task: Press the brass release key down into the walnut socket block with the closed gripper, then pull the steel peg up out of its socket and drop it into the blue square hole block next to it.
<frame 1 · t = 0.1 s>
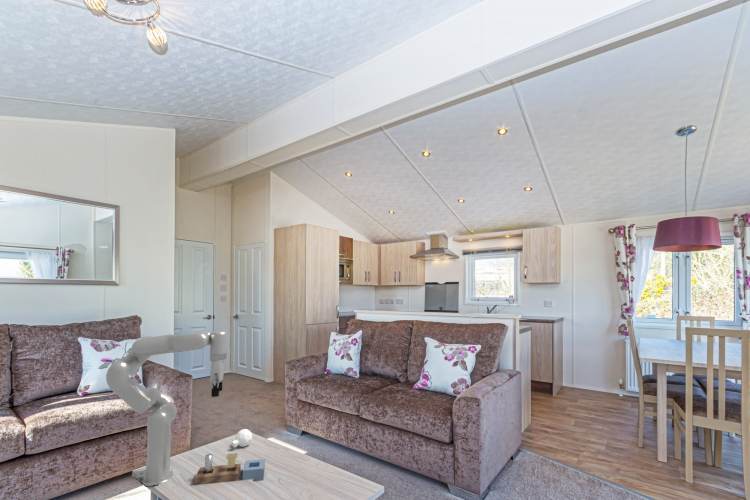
hand: (216, 393, 185), 37 cm above the table, fingers open, 9 cm apart
blue square hole block: (253, 475, 180), on the table
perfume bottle: (241, 447, 213), on the table
release key: (231, 460, 178), point 8 cm above the table, slide at 4.0 cm
socket block: (218, 479, 176), on the table
steel peg: (207, 478, 175), point 1 cm above the table, touching socket block
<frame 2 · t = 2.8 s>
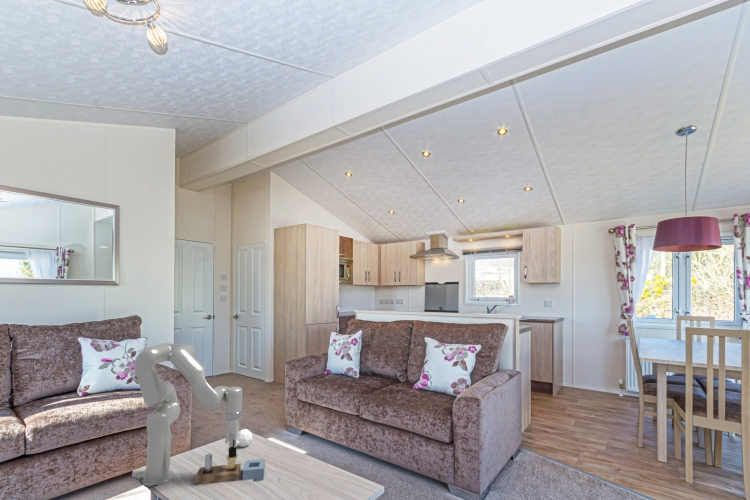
hand: (232, 456, 179), 10 cm above the table, fingers closed
release key: (231, 461, 178), point 7 cm above the table, slide at 3.6 cm, touching gripper
everything else where it was.
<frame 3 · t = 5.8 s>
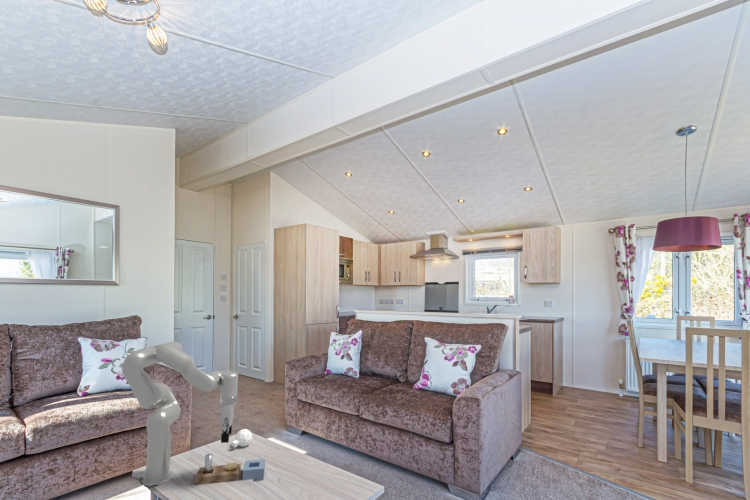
hand: (226, 438, 179), 18 cm above the table, fingers open, 9 cm apart
release key: (231, 470, 178), point 4 cm above the table, slide at -0.1 cm
everything else where it was.
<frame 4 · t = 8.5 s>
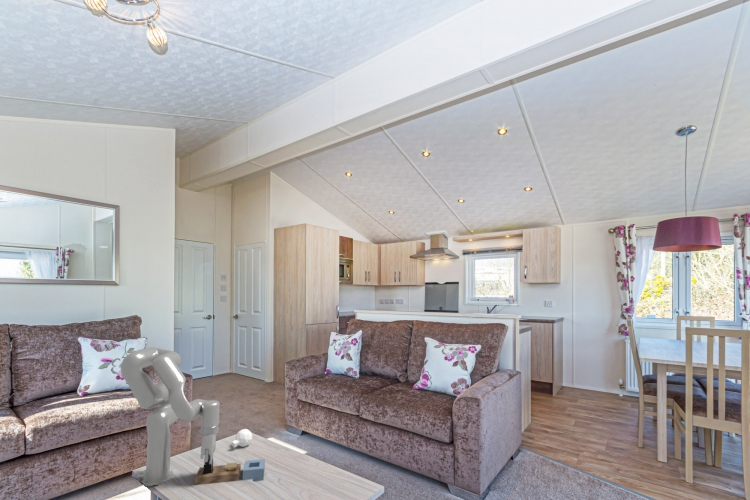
hand: (208, 470, 176), 4 cm above the table, fingers closed on steel peg, 3 cm apart
steel peg: (207, 478, 175), point 1 cm above the table, touching gripper, socket block
everything else where it was.
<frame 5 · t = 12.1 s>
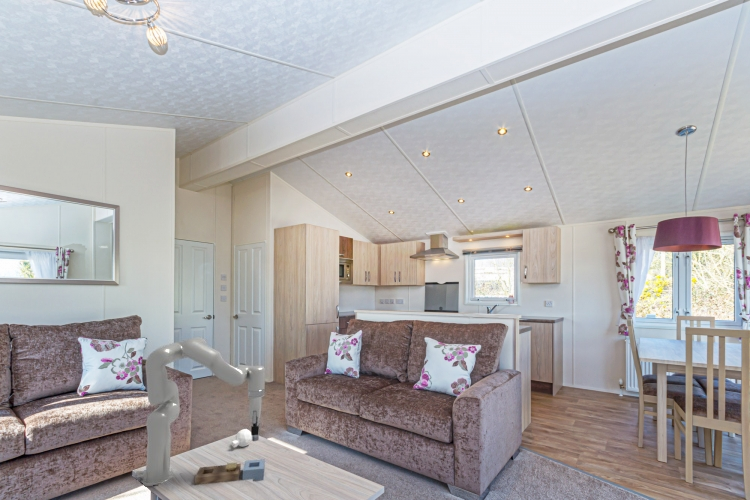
hand: (255, 433, 182), 19 cm above the table, fingers closed on steel peg, 3 cm apart
steel peg: (255, 439, 181), point 16 cm above the table, touching gripper
everything else where it was.
when the fingers open (6 cm above the table, at t = 15.5 s): steel peg drops 1 cm, resting on blue square hole block.
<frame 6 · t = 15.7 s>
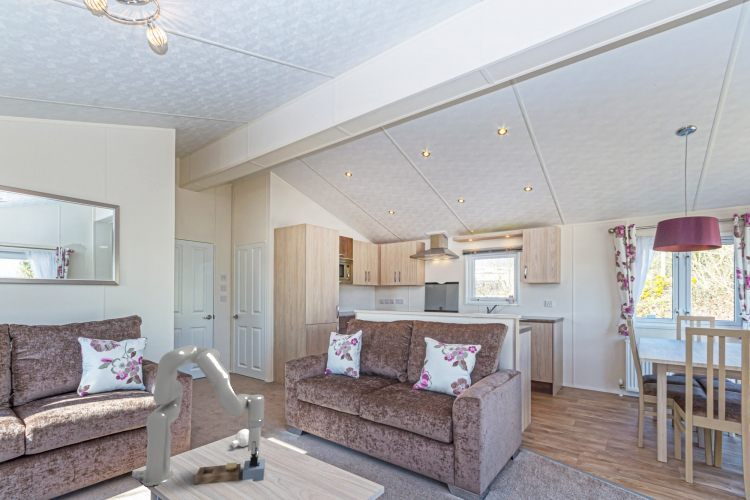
hand: (254, 462, 180), 6 cm above the table, fingers open, 4 cm apart
steel peg: (254, 473, 180), point 1 cm above the table, touching blue square hole block
everything else where it was.
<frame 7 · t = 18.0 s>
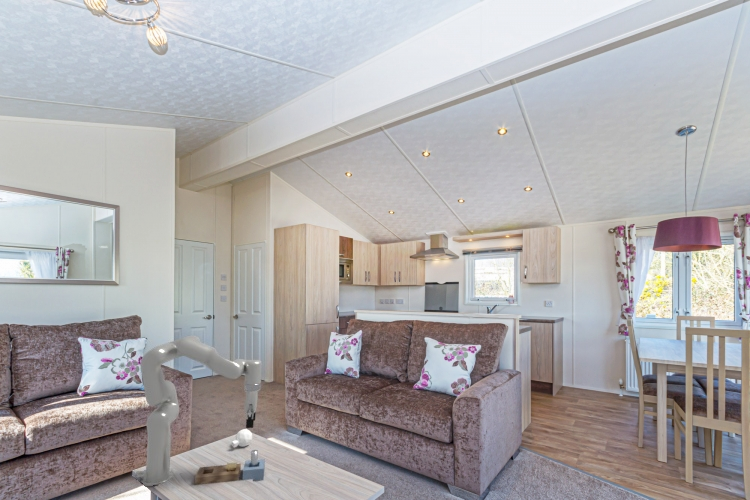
hand: (250, 424, 183), 23 cm above the table, fingers open, 9 cm apart
nothing on the table moved.
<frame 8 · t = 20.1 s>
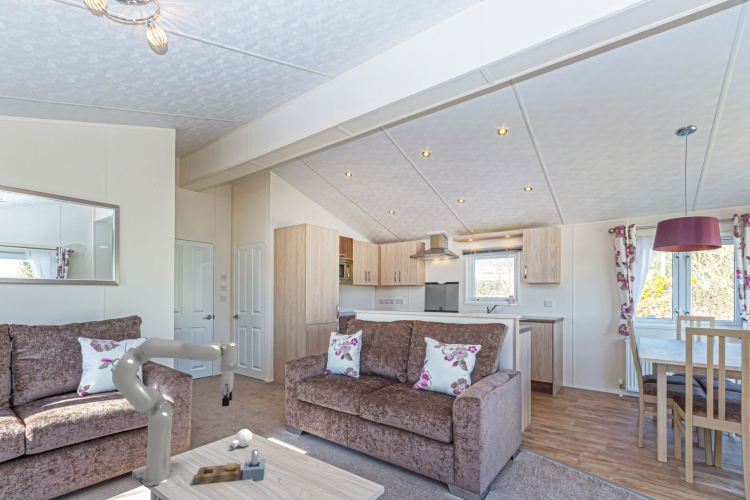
hand: (227, 403, 191), 30 cm above the table, fingers open, 9 cm apart
nothing on the table moved.
at the end: release key slide at -0.1 cm; steel peg 0.2 cm off-centre on the blue square hole block, point 1.0 cm above the blue square hole block's base; steel peg tilted 1° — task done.
